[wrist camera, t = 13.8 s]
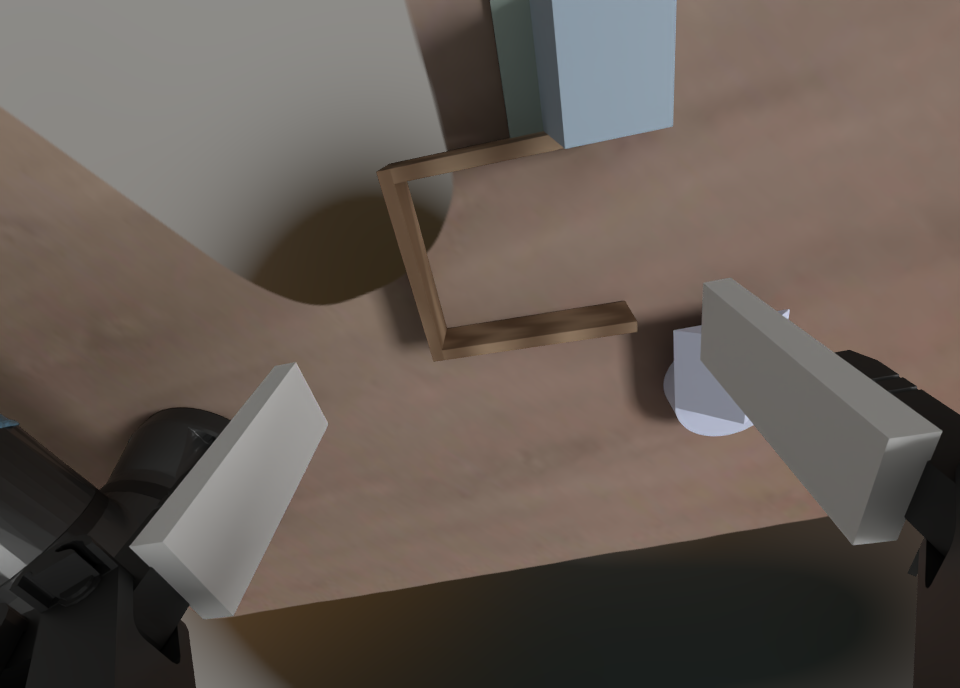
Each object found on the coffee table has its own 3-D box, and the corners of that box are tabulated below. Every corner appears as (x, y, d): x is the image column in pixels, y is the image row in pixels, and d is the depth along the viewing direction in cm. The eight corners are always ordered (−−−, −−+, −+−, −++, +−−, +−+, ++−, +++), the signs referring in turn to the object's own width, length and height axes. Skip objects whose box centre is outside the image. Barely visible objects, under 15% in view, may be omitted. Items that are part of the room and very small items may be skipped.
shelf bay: (439, 339, 41) (433, 361, 37) (389, 163, 33) (376, 171, 29) (625, 310, 38) (637, 331, 35) (619, 114, 30) (634, 116, 27)
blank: (543, 130, 31) (565, 148, 20) (528, -8, 27) (545, -73, 16) (613, 115, 30) (672, 126, 20) (608, -29, 26) (679, -111, 16)
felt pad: (512, 152, 32) (512, 152, 31) (487, -15, 27) (487, -17, 26) (648, 123, 30) (650, 123, 30) (648, -59, 26) (650, -61, 25)
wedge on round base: (660, 312, 38) (664, 419, 44) (688, 351, 32) (688, 468, 39) (767, 292, 37) (755, 405, 43) (816, 328, 31) (795, 454, 37)
